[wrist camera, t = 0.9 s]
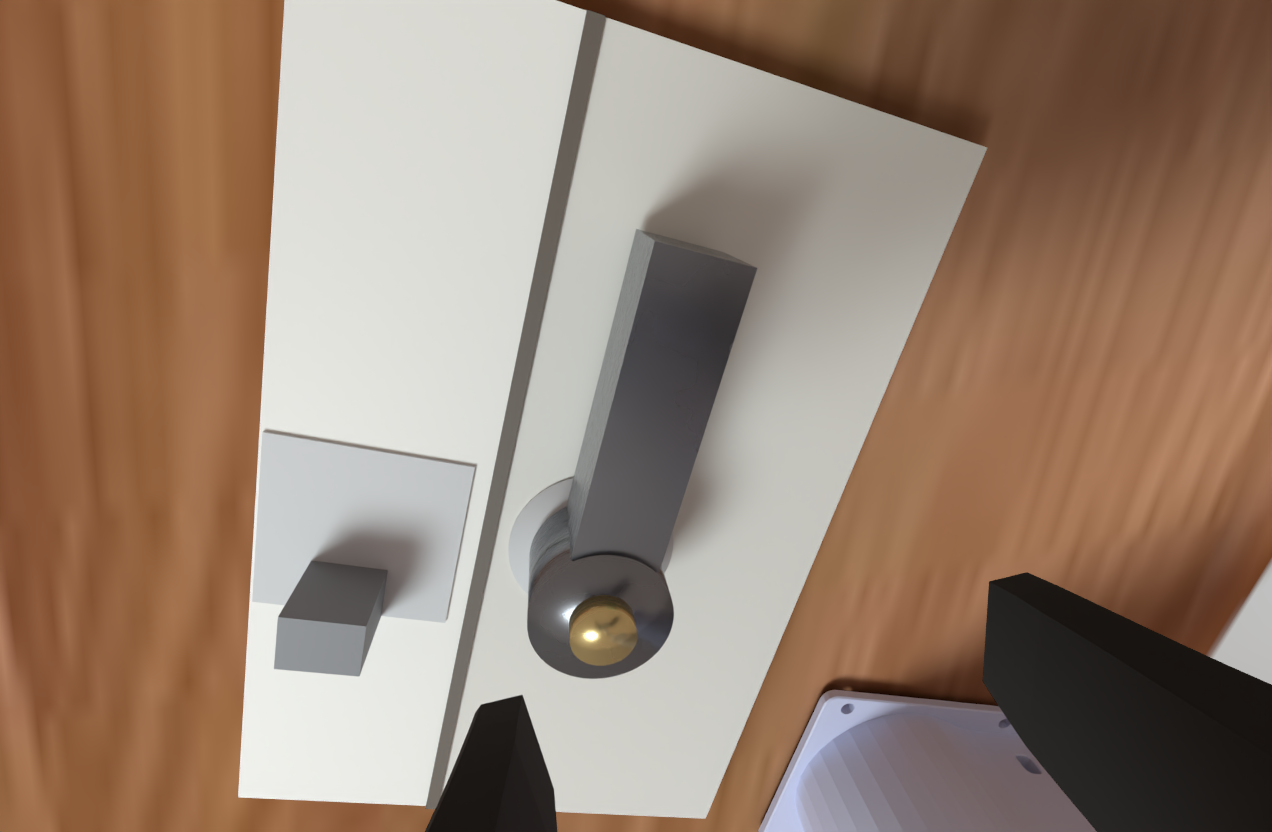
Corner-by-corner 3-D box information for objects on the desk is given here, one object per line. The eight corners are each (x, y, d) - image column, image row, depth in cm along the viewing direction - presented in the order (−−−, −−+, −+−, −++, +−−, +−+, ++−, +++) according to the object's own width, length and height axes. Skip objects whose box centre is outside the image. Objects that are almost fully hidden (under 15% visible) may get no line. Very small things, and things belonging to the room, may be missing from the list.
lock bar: (637, 613, 19) (656, 703, 15) (518, 598, 18) (513, 690, 15) (749, 259, 15) (803, 282, 12) (607, 221, 14) (625, 236, 11)
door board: (962, 148, 16) (1062, 144, 13) (699, 793, 24) (722, 887, 21) (308, -72, 13) (231, -151, 10) (252, 768, 21) (199, 876, 17)
